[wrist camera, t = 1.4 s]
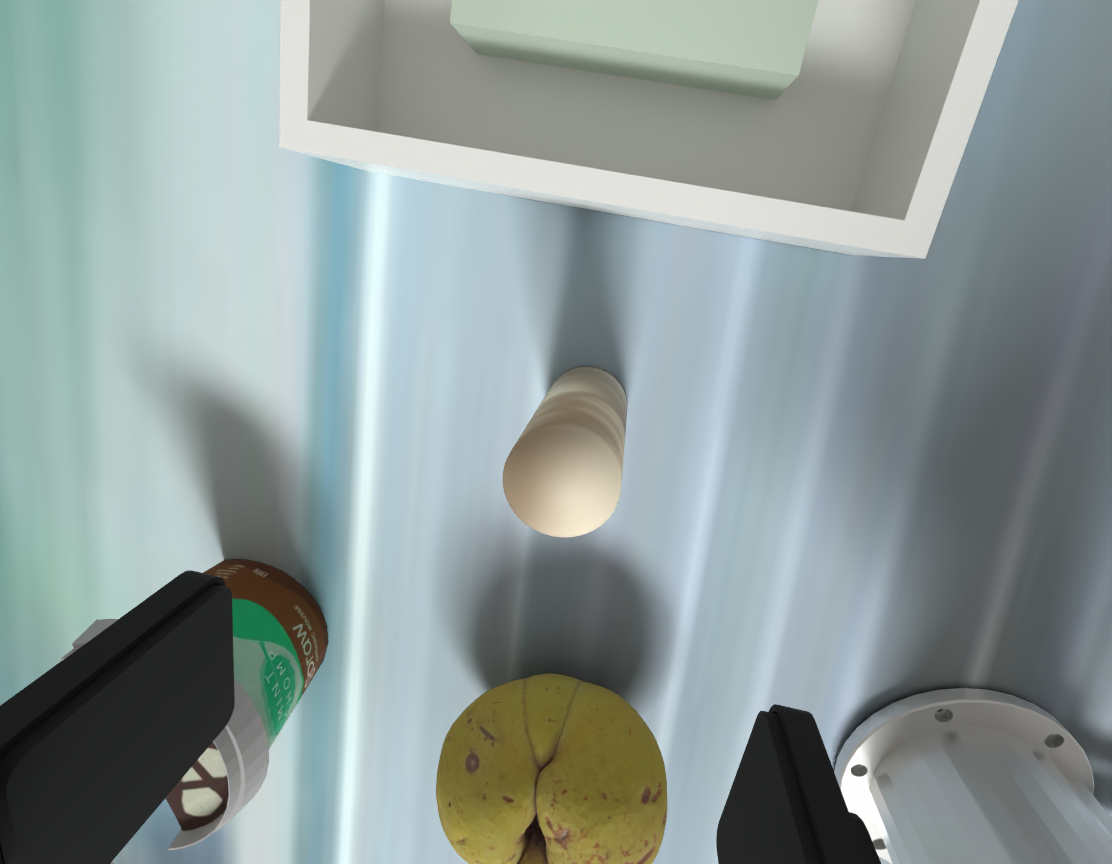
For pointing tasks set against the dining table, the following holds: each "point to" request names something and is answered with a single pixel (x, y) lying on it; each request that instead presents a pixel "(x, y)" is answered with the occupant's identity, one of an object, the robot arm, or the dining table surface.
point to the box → (657, 106)
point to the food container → (248, 692)
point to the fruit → (552, 777)
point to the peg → (570, 455)
